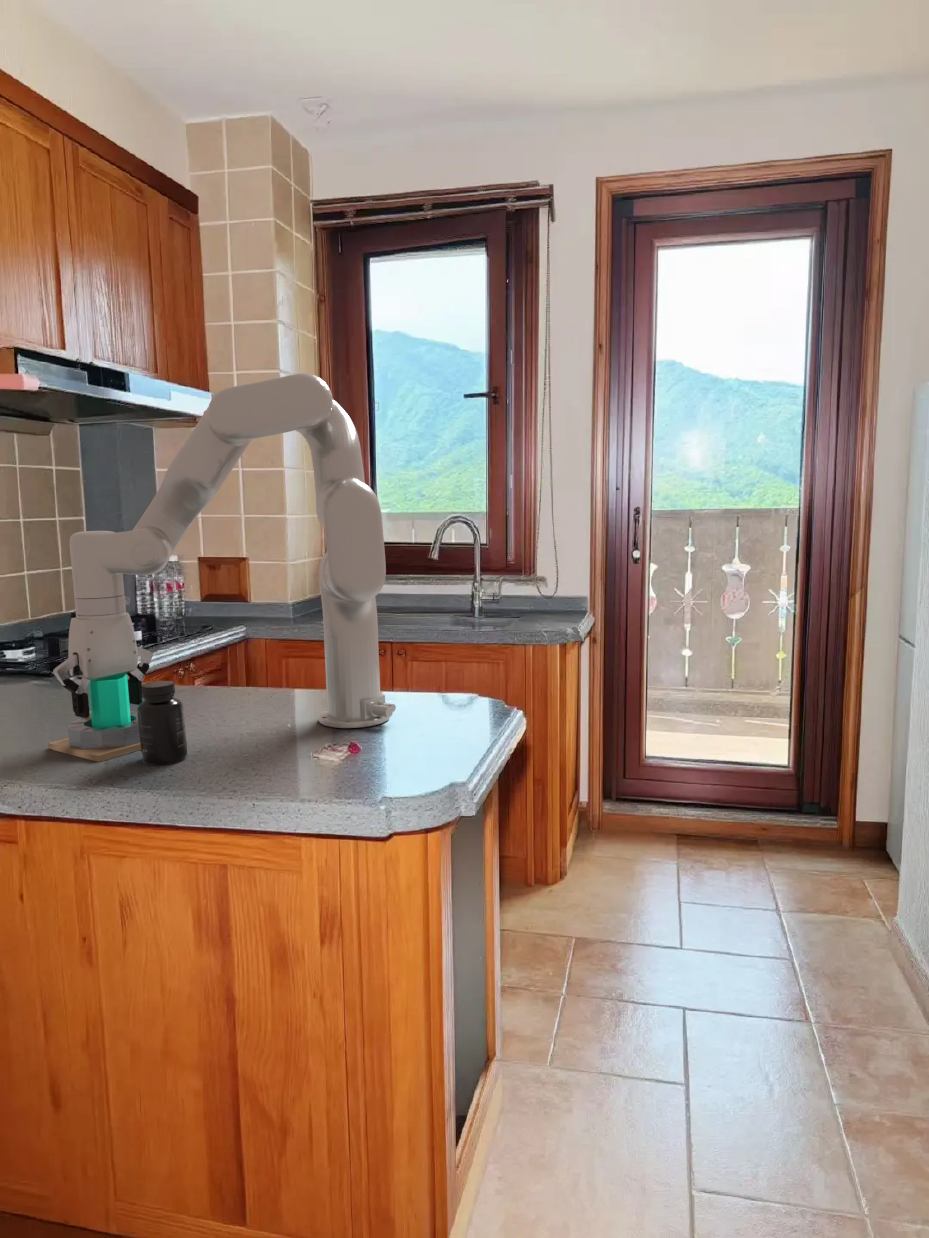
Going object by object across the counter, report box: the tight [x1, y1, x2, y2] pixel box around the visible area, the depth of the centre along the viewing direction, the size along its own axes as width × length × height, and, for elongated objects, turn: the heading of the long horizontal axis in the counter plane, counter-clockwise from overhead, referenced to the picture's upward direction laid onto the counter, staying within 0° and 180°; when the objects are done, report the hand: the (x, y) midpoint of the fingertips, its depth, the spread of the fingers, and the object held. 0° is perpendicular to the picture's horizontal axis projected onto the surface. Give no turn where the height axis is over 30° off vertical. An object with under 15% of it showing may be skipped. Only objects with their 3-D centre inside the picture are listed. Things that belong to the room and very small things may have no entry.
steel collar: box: [67, 710, 140, 750], centre depth 145 cm, size 13×13×4 cm
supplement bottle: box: [136, 680, 188, 766], centre depth 136 cm, size 7×7×12 cm
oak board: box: [47, 737, 141, 763], centre depth 145 cm, size 14×14×1 cm
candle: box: [87, 673, 131, 727], centre depth 144 cm, size 6×6×12 cm
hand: (109, 710), depth 145 cm, fingers open, 9 cm apart
